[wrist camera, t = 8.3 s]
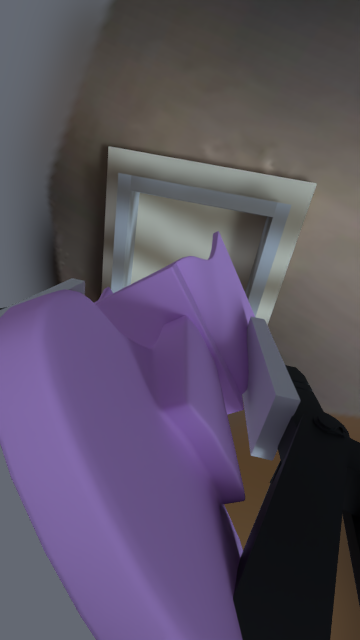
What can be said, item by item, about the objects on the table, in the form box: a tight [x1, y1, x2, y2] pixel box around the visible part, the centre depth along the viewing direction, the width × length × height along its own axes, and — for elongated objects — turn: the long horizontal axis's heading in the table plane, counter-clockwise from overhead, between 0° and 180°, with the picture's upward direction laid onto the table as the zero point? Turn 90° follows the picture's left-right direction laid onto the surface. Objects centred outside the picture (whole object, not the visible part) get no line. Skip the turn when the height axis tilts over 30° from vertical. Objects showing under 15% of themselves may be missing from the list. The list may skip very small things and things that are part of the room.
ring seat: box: [101, 146, 317, 325], centre depth 27 cm, size 20×20×4 cm
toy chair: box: [0, 231, 255, 640], centre depth 10 cm, size 8×9×15 cm
